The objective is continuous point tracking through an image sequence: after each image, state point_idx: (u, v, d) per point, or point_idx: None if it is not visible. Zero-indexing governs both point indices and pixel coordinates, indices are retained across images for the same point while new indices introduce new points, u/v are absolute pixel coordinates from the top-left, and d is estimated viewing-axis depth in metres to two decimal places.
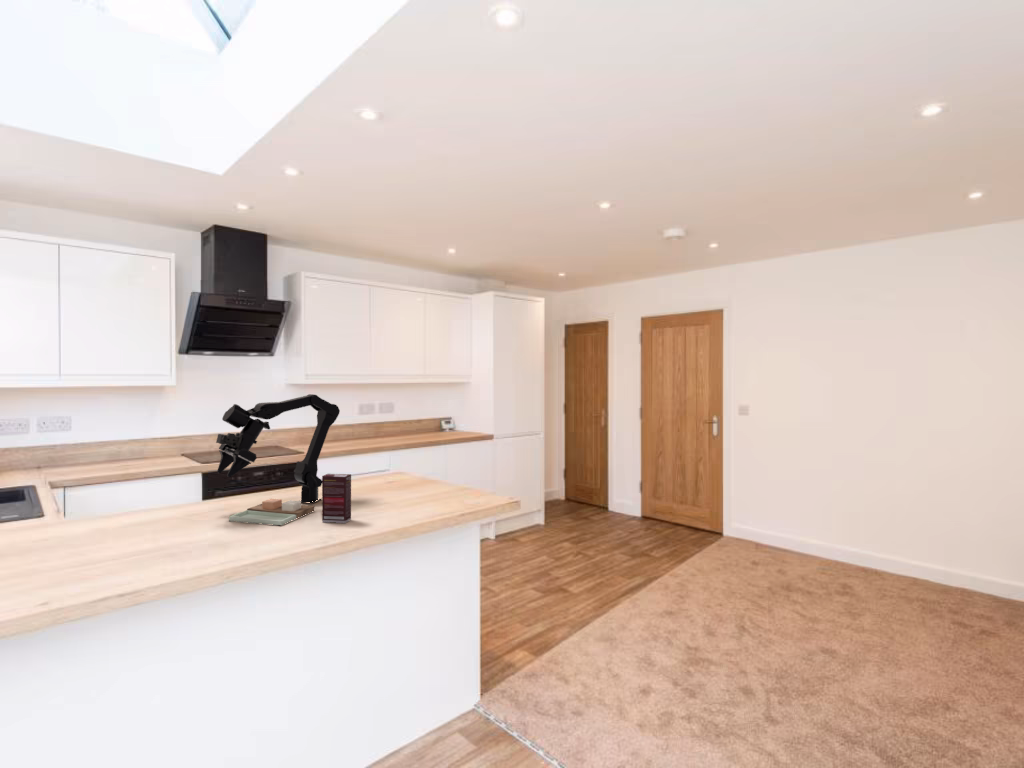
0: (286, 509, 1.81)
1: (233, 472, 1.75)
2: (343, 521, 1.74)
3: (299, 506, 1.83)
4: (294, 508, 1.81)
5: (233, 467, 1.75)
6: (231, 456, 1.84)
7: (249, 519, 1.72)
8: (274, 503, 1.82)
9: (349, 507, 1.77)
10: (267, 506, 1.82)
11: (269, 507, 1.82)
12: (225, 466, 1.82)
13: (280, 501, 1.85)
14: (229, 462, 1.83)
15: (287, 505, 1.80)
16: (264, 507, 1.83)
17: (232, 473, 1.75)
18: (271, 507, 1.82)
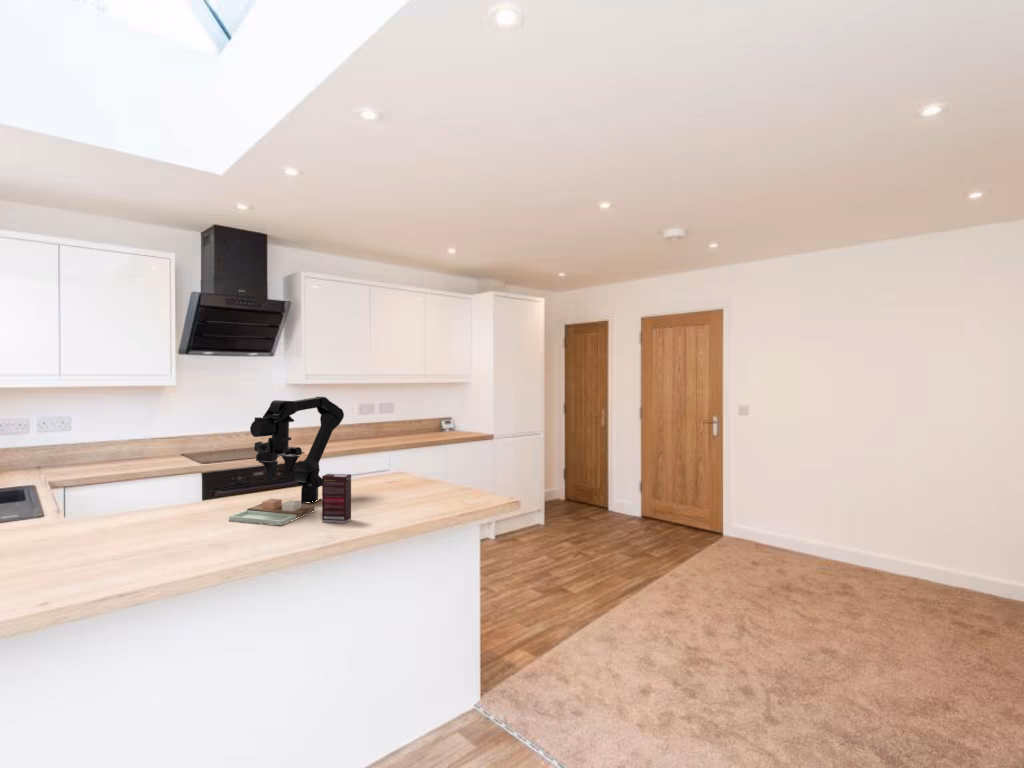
0: (286, 509, 1.81)
1: (271, 475, 1.83)
2: (343, 521, 1.74)
3: (299, 506, 1.83)
4: (294, 508, 1.81)
5: (267, 471, 1.83)
6: (290, 457, 1.93)
7: (249, 519, 1.72)
8: (274, 503, 1.82)
9: (349, 507, 1.77)
10: (267, 506, 1.82)
11: (269, 507, 1.82)
12: (289, 467, 1.93)
13: (280, 501, 1.85)
14: (291, 463, 1.93)
15: (287, 505, 1.80)
16: (264, 507, 1.83)
17: (270, 476, 1.83)
18: (271, 507, 1.82)
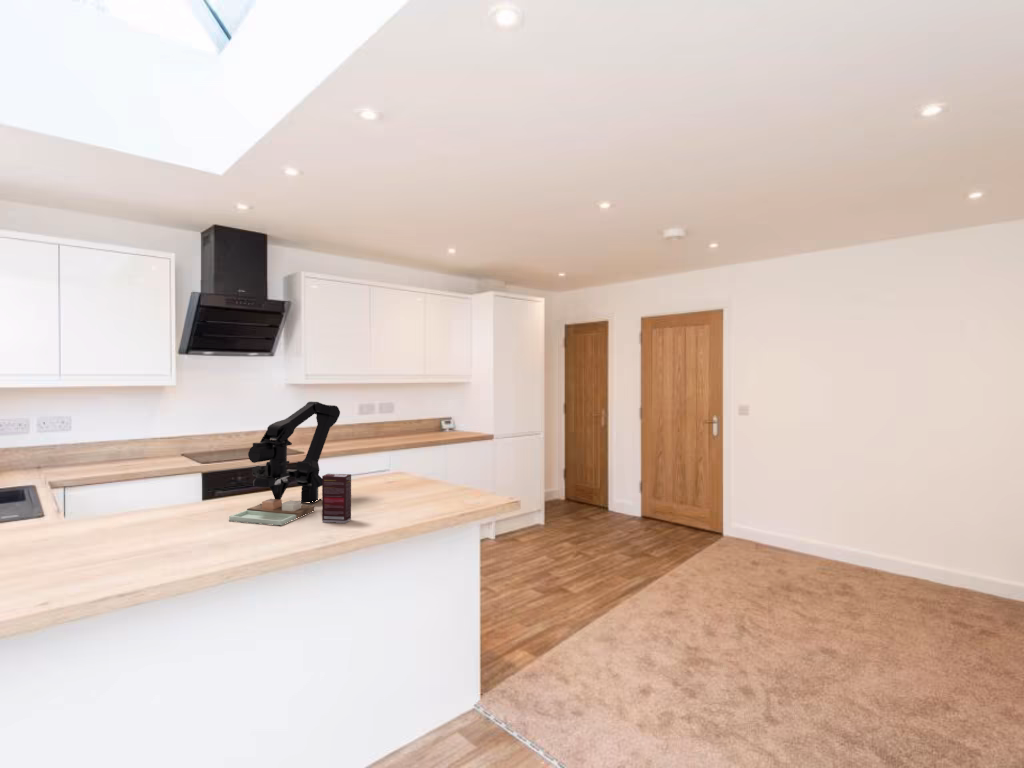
0: (286, 509, 1.81)
1: (277, 497, 1.86)
2: (343, 521, 1.74)
3: (299, 506, 1.83)
4: (294, 508, 1.81)
5: (273, 493, 1.86)
6: (281, 482, 1.88)
7: (249, 519, 1.72)
8: (274, 503, 1.82)
9: (349, 507, 1.77)
10: (267, 506, 1.82)
11: (269, 507, 1.82)
12: None
13: (280, 501, 1.85)
14: None
15: (287, 505, 1.80)
16: (264, 507, 1.83)
17: (277, 498, 1.87)
18: (271, 507, 1.82)
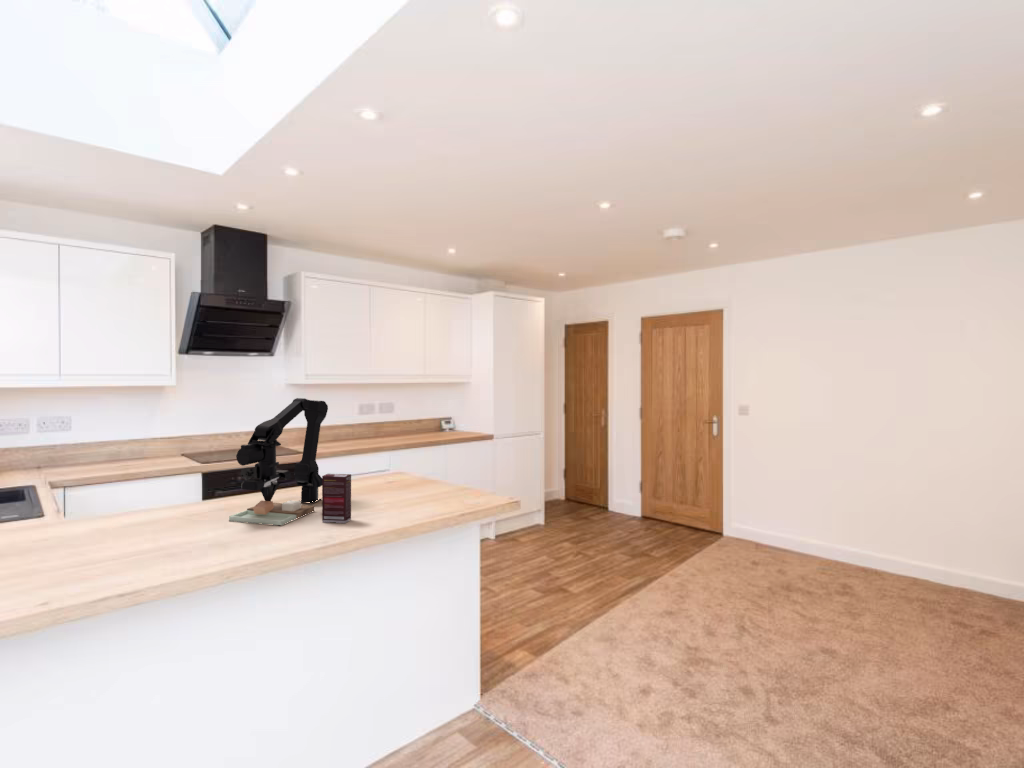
0: (286, 509, 1.81)
1: (267, 499, 1.81)
2: (343, 521, 1.74)
3: (299, 506, 1.83)
4: (294, 508, 1.81)
5: (263, 495, 1.81)
6: (271, 484, 1.82)
7: (249, 519, 1.72)
8: (265, 508, 1.78)
9: (349, 507, 1.77)
10: (259, 511, 1.78)
11: (261, 512, 1.78)
12: None
13: (271, 503, 1.81)
14: None
15: (287, 505, 1.80)
16: (256, 512, 1.79)
17: (267, 500, 1.82)
18: (263, 512, 1.78)
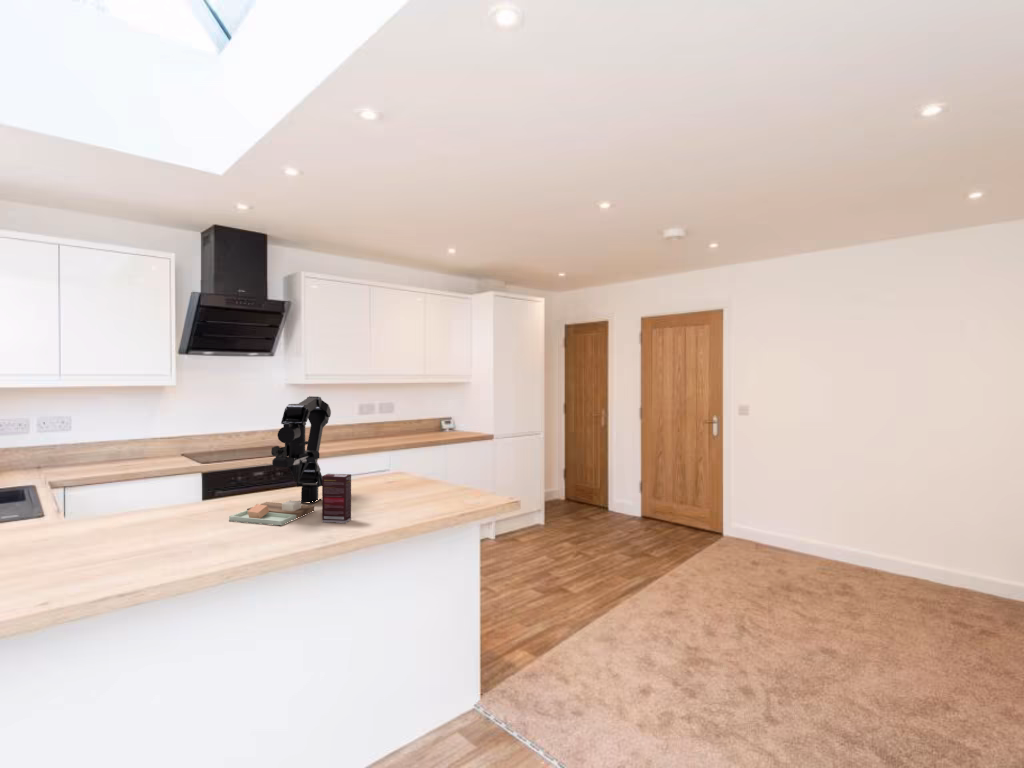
0: (286, 509, 1.81)
1: (296, 477, 1.86)
2: (343, 521, 1.74)
3: (299, 506, 1.83)
4: (294, 508, 1.81)
5: (292, 473, 1.86)
6: (300, 463, 1.87)
7: (249, 519, 1.72)
8: (259, 512, 1.76)
9: (349, 507, 1.77)
10: (253, 515, 1.76)
11: (255, 516, 1.76)
12: None
13: (266, 507, 1.78)
14: None
15: (287, 505, 1.80)
16: (250, 516, 1.77)
17: (296, 478, 1.86)
18: (257, 517, 1.76)
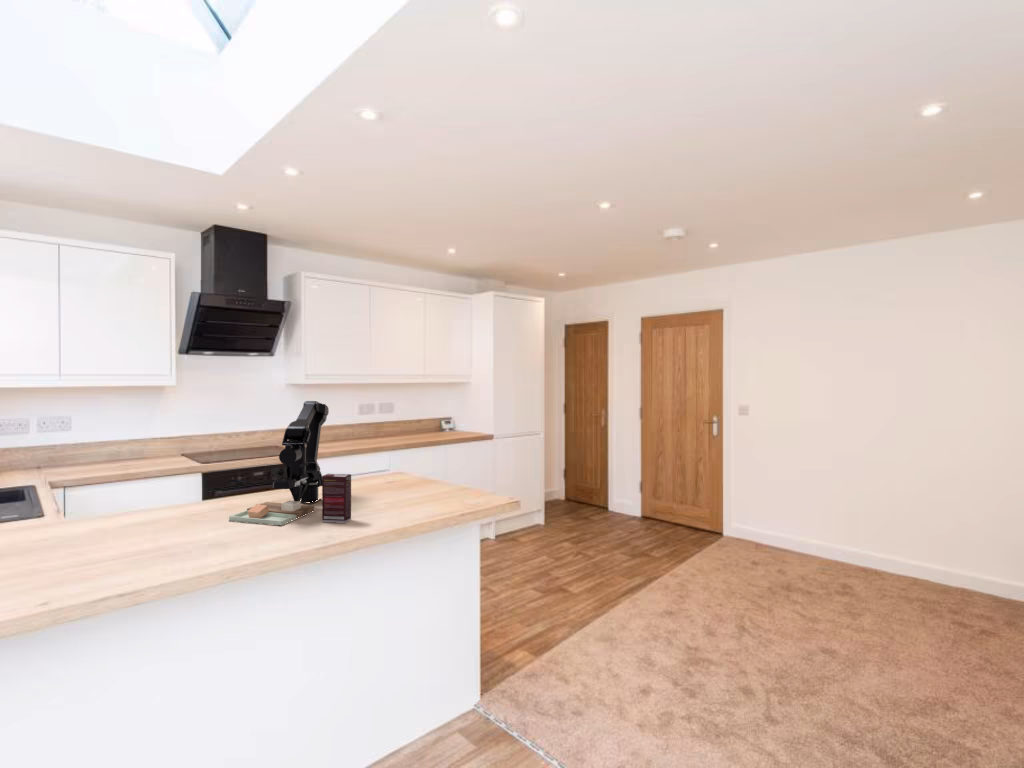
0: (286, 509, 1.80)
1: (296, 499, 1.84)
2: (343, 521, 1.74)
3: (299, 506, 1.83)
4: (294, 508, 1.80)
5: (293, 495, 1.84)
6: (300, 484, 1.86)
7: (249, 519, 1.72)
8: (259, 512, 1.76)
9: (349, 507, 1.77)
10: (253, 515, 1.76)
11: (255, 516, 1.76)
12: None
13: (266, 507, 1.78)
14: None
15: (287, 505, 1.80)
16: (250, 516, 1.77)
17: (296, 500, 1.84)
18: (257, 517, 1.76)
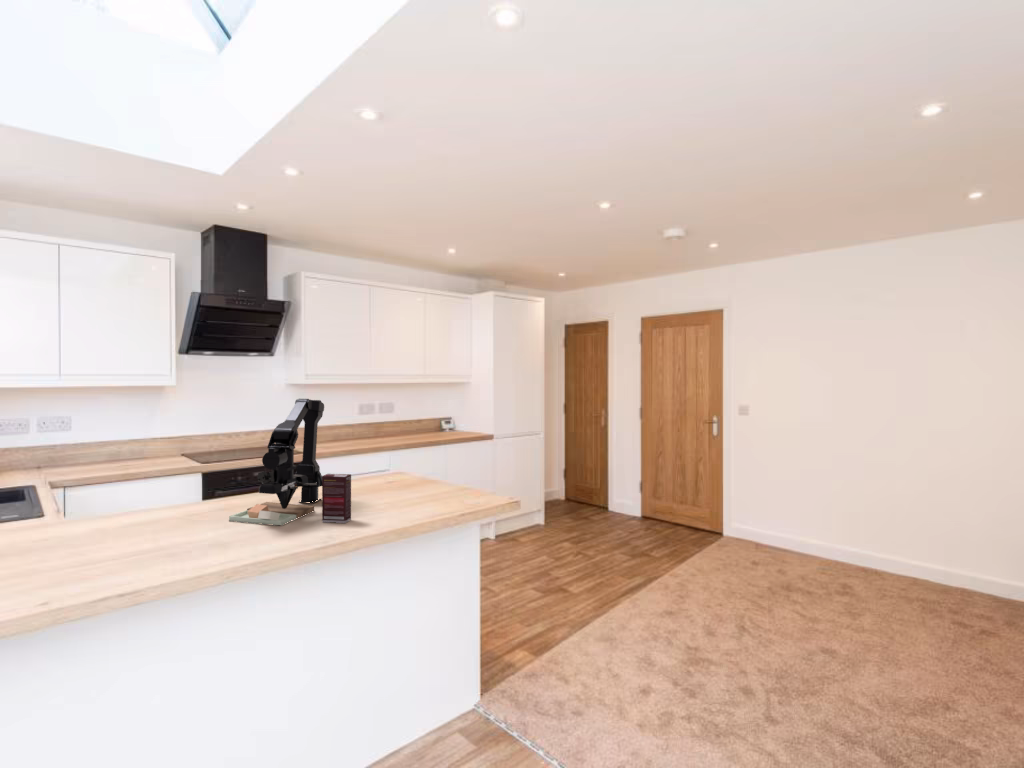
0: None
1: (283, 504, 1.78)
2: (343, 521, 1.74)
3: (272, 514, 1.71)
4: (277, 515, 1.73)
5: (280, 499, 1.78)
6: (288, 488, 1.79)
7: (249, 519, 1.72)
8: None
9: (349, 507, 1.77)
10: (253, 515, 1.76)
11: (255, 516, 1.76)
12: None
13: (266, 507, 1.78)
14: None
15: None
16: (250, 516, 1.77)
17: (283, 505, 1.78)
18: (257, 517, 1.76)
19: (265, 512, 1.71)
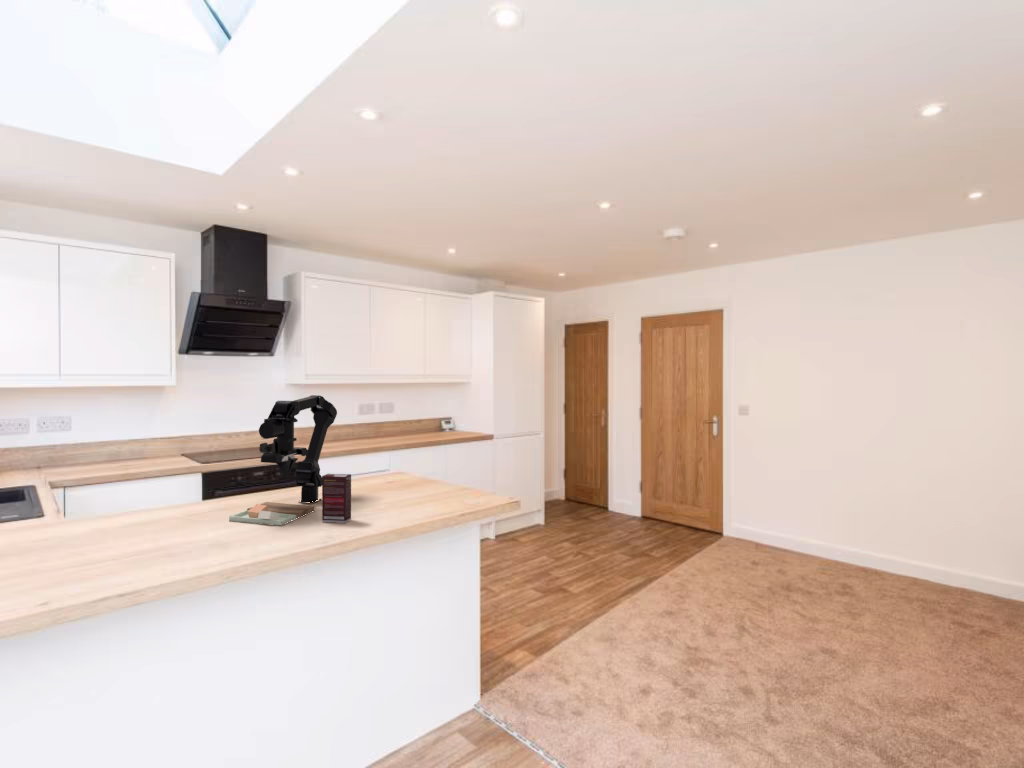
0: None
1: (284, 474, 1.85)
2: (343, 521, 1.74)
3: (272, 514, 1.71)
4: (277, 515, 1.73)
5: (281, 470, 1.85)
6: (288, 459, 1.87)
7: (249, 519, 1.72)
8: None
9: (349, 507, 1.77)
10: (253, 515, 1.76)
11: (255, 516, 1.76)
12: None
13: (266, 507, 1.78)
14: None
15: None
16: (250, 516, 1.77)
17: (284, 475, 1.85)
18: (257, 517, 1.76)
19: (265, 512, 1.71)
